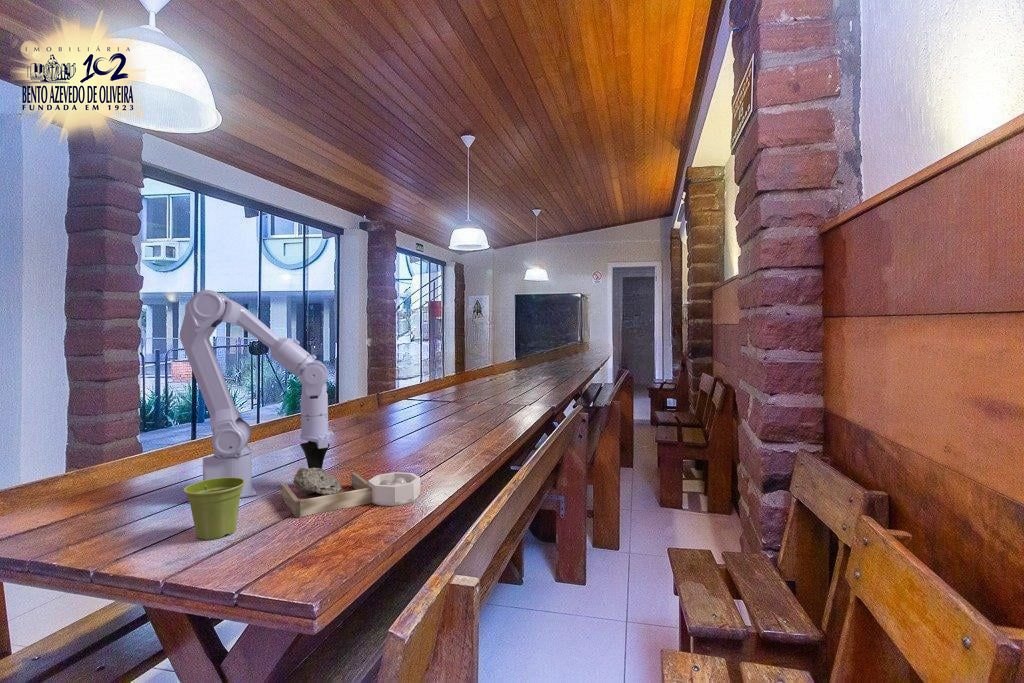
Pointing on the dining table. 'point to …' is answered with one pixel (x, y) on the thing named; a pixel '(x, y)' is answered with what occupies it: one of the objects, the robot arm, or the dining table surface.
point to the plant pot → (215, 506)
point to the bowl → (395, 489)
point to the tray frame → (329, 499)
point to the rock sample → (316, 481)
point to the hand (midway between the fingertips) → (315, 473)
